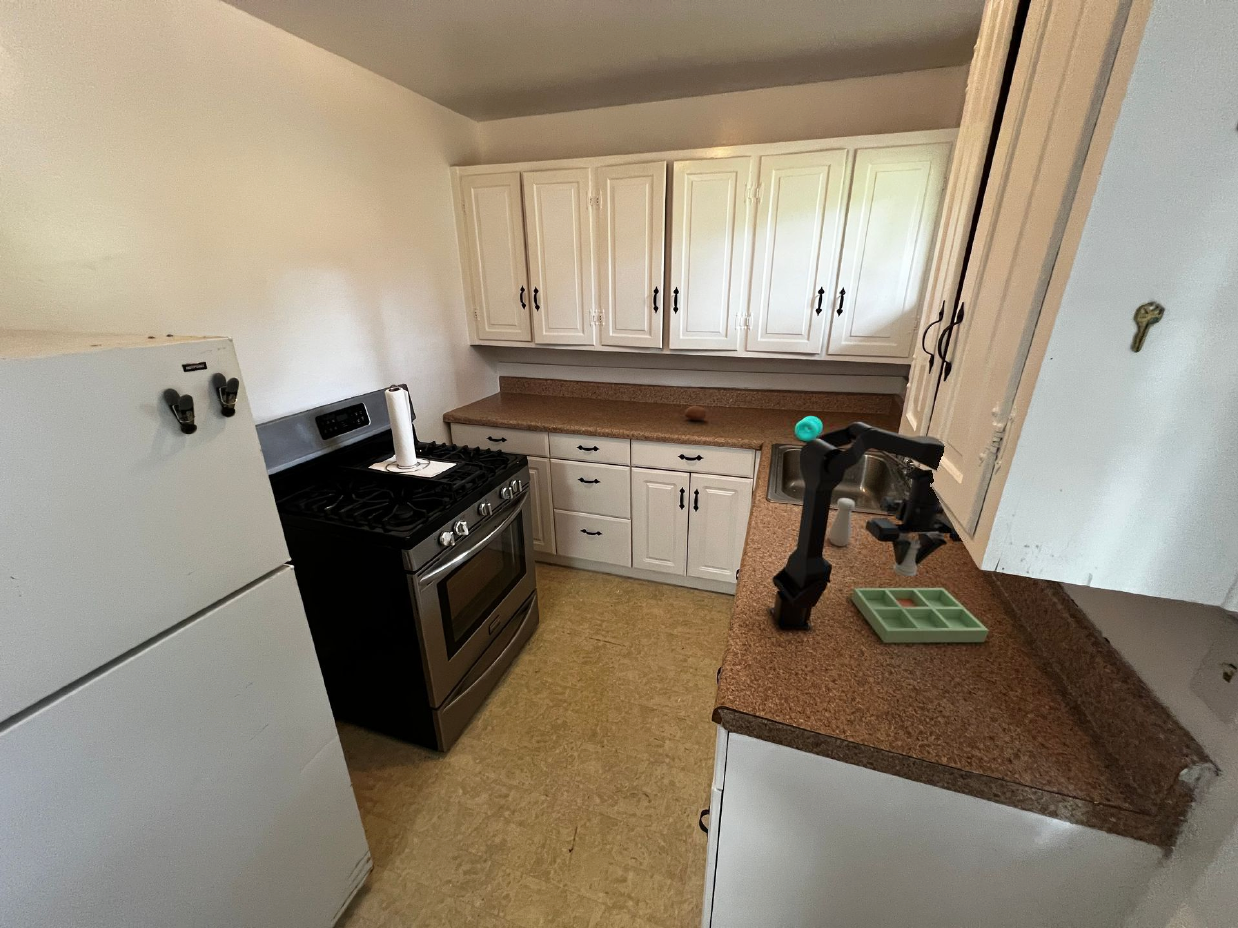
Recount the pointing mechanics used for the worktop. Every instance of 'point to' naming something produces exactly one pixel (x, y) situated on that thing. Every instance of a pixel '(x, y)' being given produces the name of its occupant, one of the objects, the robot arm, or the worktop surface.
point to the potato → (695, 413)
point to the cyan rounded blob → (804, 432)
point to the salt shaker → (842, 523)
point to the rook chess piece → (909, 560)
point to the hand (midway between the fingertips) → (906, 563)
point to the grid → (917, 615)
